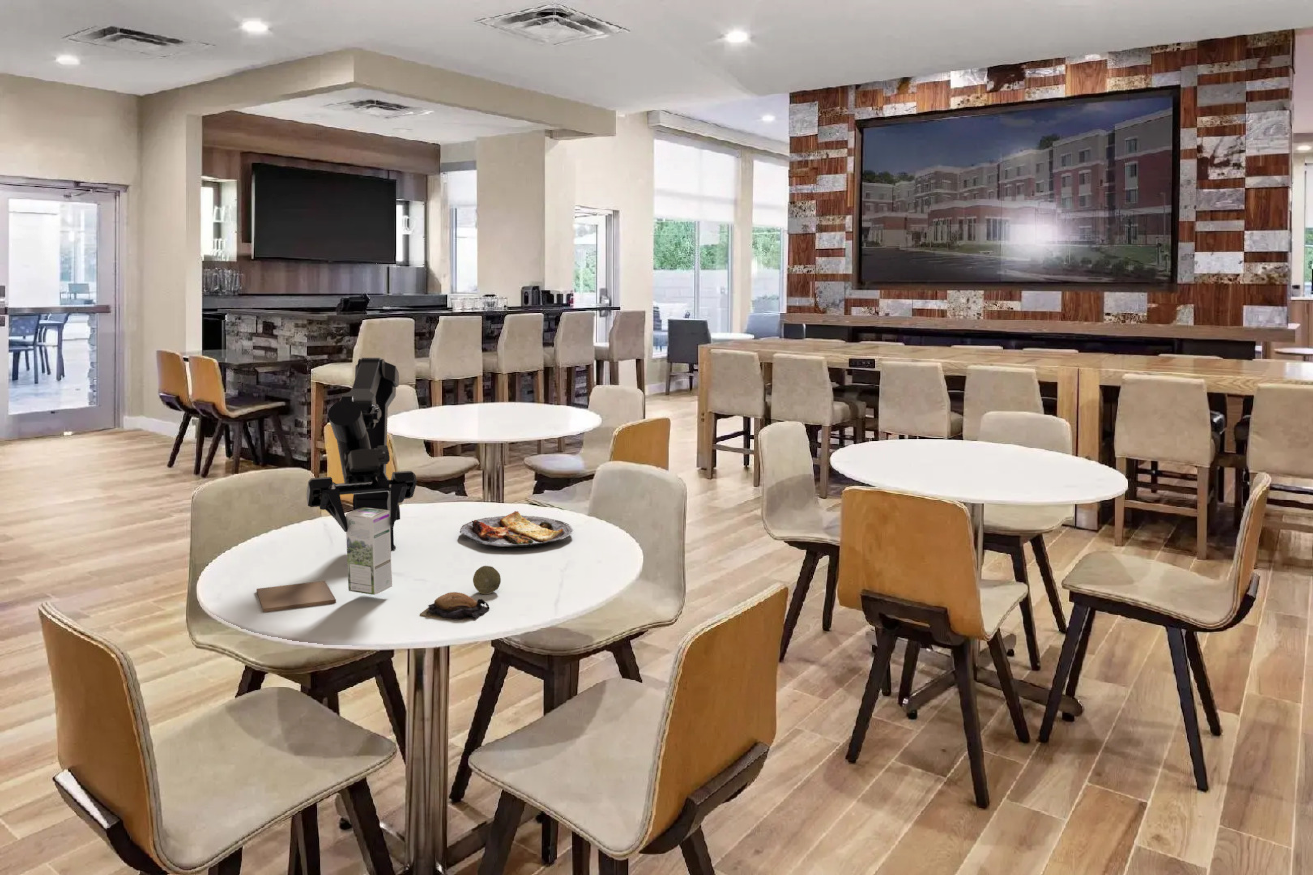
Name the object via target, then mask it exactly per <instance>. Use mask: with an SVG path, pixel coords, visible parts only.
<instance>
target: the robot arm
mask: <svg viewBox="0 0 1313 875" xmlns="http://www.w3.org/2000/svg"><path fill="white" fill-rule="evenodd" d="M354 372H355V373H354V381H353V384H352V388H351V390H349V391H348V392H345V393H343V394H342V395H341V397H340V399H339V401H337V402H335V403H334V404H332V405H331V406H330V408H329V409H328V411H327V416H328V420H329V423H330V427H331V430H332V433H333V435H334V438H335V440H336V443H337V448H338V449H337V450H338V454H339V460H340V465H341V472H342V477H343V481H344V482H342V483H341V482H340V483H336V482H334V481H333V478H332V477H331V476H325V477H324V476H322V477H312V478H310V479H309V480H308V482H307V486H306V487H307V488H306V501H307V506H308V507H309V508H318V507H319V510H321V511H322V510H325V511H326V512H327V513H328V514H329V515H330V516H331V517H332V518H333V519H334V520H335V521H336V522H337V524H338V525H339V526H340V528H341V529H342V530H343V531H344V533H346V532H347V531H348V527H347V520H346V513H345V510H344V507H343V505H342V498H341V495H351V494H352V495H353V496H352V511H353V510H356V509H359V508H363V507H365V508H374V509H382V510H389V511H390V535H391V551H392V550H396V549H397V547H396V545H395V541H394V539H395V538H394V536H395V535H394V527H395V522H396V521H398V520H401V509H400V503H403V502H404V501H405V500H407V499H409V500H410V499H411V498H413V496H414V493H415V490H416V487H417V483H418V480H417V476H416V474H415V473H414V472H413V470H404V471H403V470H401V471H392V474H391V477H390V479H389V477H388V475H387V465H388V464H389V462H390V461H391V460H390V459H391V457H390V451H389V447H388V415H389V414H388V413H389V411H388V409H389V407H390V405H391V403H392V402H393V401H394V399H395V398H396V395H397V394H396V393H397V388H399V385H400V373H399V369H397V366H396V365H394V364H391V363H389V362H386V361H385V359H384V358H381V357H361V358H359V359H358V361H357V364H356V365H355V370H354Z"/></svg>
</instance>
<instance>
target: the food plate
mask: <svg viewBox="0 0 1313 875" xmlns="http://www.w3.org/2000/svg"><path fill="white" fill-rule="evenodd" d="M459 530H460V531H459V533H460V534H462V535H463V536H465V537H467V538H469V539H471V540H473V541H475V543H476V544H482V545H487V546H495V547H501V548H503V547H505V548H525V547H531V546H537V545H544V544H547V543H552V542H555V541H559V540H564V539H565V538H567V537H569V536H571V535H572V534H573V532H574V529H573V527H572V525H570V524H569V523H566V522H564V521H561V520H558V519H552V518H549V517H543V516H534V515H528V516H527V515H522V514H521V513H520V512H519V511H517V510H515V511H513V512H512V513H508V514H507V515H501V516H494V517H492V516H491V517H484V518H478V519H473V520H471V521H469V522H467V523H464V524H462V525H461V527H460V529H459Z"/></svg>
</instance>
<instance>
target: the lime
mask: <svg viewBox="0 0 1313 875" xmlns="http://www.w3.org/2000/svg"><path fill="white" fill-rule="evenodd" d="M501 581H502V579H501V574H500V573H499V571H498V570H497V569H496V568H495V567H494V566H491V565H483V566H481V567H479V568H478V569H476V571H475V572H474V575H473V577H472V582H473V583H472V584H473V586H474V587H475V590H476V591H478V593H480V594H482V595H490V594H492V593H494V592H496V591H498V589H499V587H500V585H501Z"/></svg>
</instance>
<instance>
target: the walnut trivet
mask: <svg viewBox="0 0 1313 875" xmlns="http://www.w3.org/2000/svg"><path fill="white" fill-rule="evenodd" d="M256 594H257V596H258V601H259V602H260V605H261V608H262V612H263V613H266V612H273V611H274V612H275V611H276V612H277V611H283V610H290V609H297V608H304V607H305V608H306V607H313V606H319V605H321V606H322V605H329V604H336V603H337V599H336V597H335V595H334V594H333V592H332V590H331V589H330V586H329V584H328V583H327V582H326V580H319V581H311V582H309V581H308V582H302V583H294V584H285V585H278V586H269V587H260V588H259V587H258V588H256Z"/></svg>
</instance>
